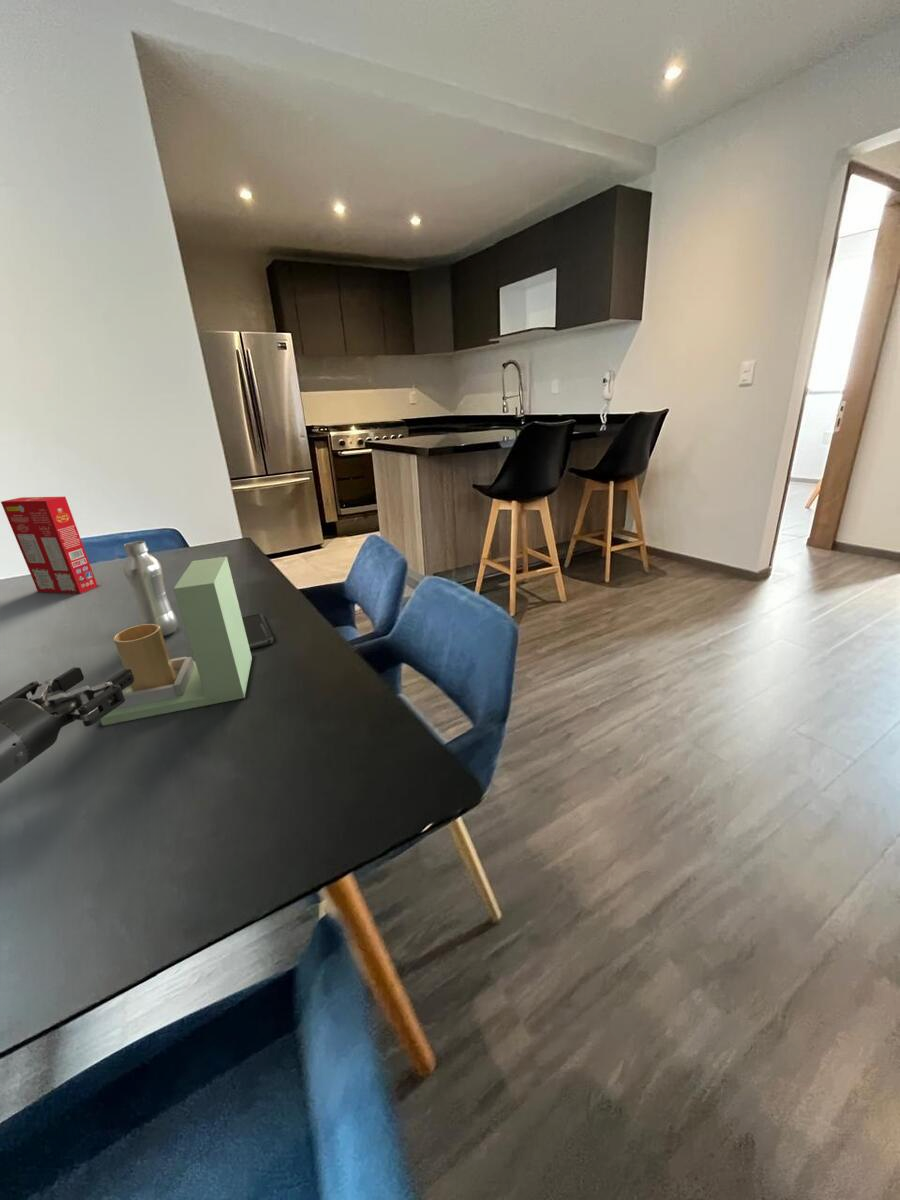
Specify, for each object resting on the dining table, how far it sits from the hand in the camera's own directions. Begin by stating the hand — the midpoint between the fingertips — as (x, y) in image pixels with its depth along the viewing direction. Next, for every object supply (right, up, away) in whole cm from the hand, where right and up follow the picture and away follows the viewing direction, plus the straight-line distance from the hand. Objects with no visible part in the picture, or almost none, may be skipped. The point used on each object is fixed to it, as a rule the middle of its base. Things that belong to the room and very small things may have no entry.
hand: (105, 673), depth 72 cm
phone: (+9, +4, +29) cm, 31 cm away
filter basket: (+2, -4, +9) cm, 10 cm away
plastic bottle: (-10, +3, +32) cm, 34 cm away
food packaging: (-55, +14, +64) cm, 85 cm away
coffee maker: (+6, -4, +11) cm, 13 cm away
